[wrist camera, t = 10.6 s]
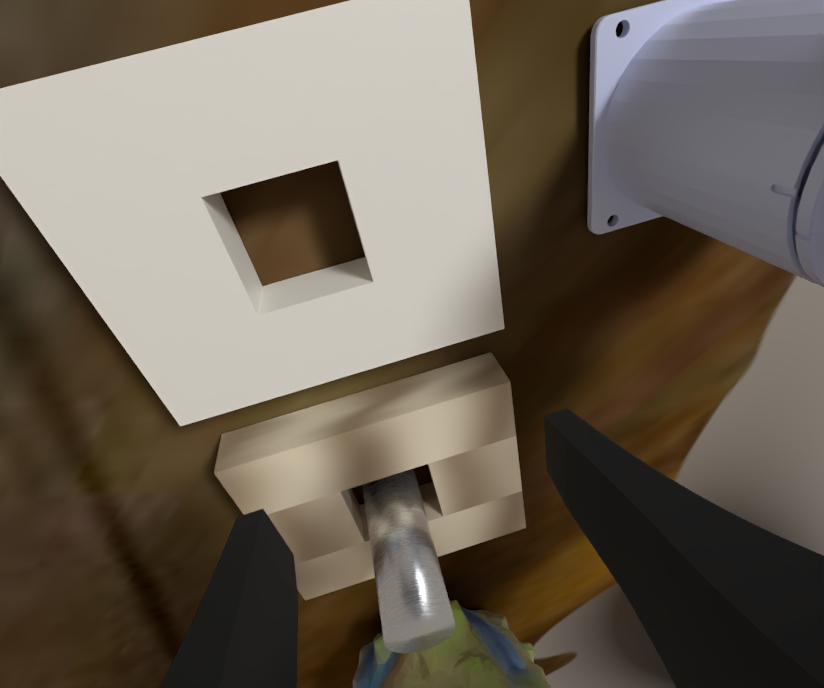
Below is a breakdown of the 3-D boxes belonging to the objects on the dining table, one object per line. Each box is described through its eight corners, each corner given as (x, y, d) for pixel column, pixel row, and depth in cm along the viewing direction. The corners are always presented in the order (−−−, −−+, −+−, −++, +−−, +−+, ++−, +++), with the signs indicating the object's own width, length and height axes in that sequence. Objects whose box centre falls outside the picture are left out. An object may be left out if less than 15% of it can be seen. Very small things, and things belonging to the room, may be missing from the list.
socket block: (442, -18, 14) (466, -29, 12) (484, 301, 21) (504, 328, 19) (0, 94, 14) (-53, 102, 12) (192, 388, 20) (180, 426, 18)
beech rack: (491, 352, 23) (510, 381, 21) (510, 495, 30) (526, 527, 28) (221, 434, 22) (214, 473, 20) (304, 561, 29) (305, 600, 27)
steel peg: (398, 440, 25) (439, 605, 17) (420, 470, 27) (465, 632, 19) (350, 463, 25) (371, 636, 18) (375, 492, 27) (403, 660, 19)
